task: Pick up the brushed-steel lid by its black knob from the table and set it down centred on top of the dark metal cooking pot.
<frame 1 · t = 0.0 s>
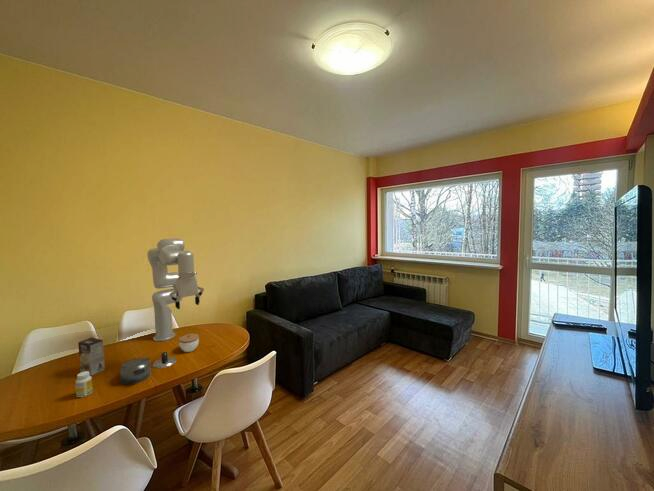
hand: (187, 306, 145), 31 cm above the table, fingers open, 9 cm apart
lidded jar: (189, 350, 162), on the table
lid: (164, 363, 147), on the table
coffee box: (92, 371, 139), on the table
supplement bottle: (84, 394, 120), on the table
pot: (136, 377, 133), on the table
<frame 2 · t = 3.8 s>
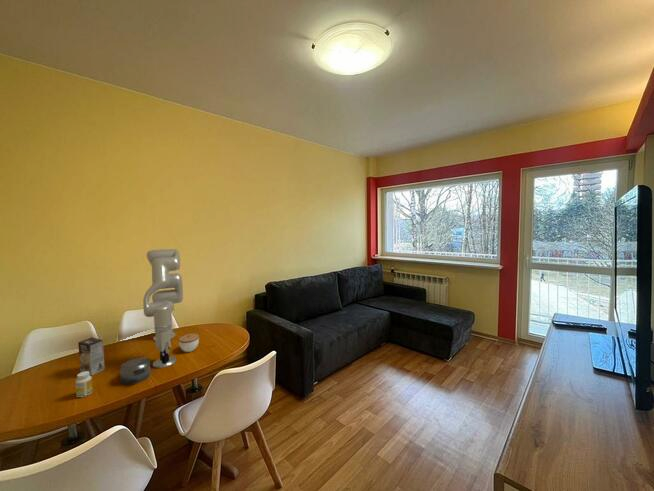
hand: (164, 360, 147), 1 cm above the table, fingers closed on lid, 2 cm apart
lid: (164, 362, 147), on the table, touching gripper
everything else where it was.
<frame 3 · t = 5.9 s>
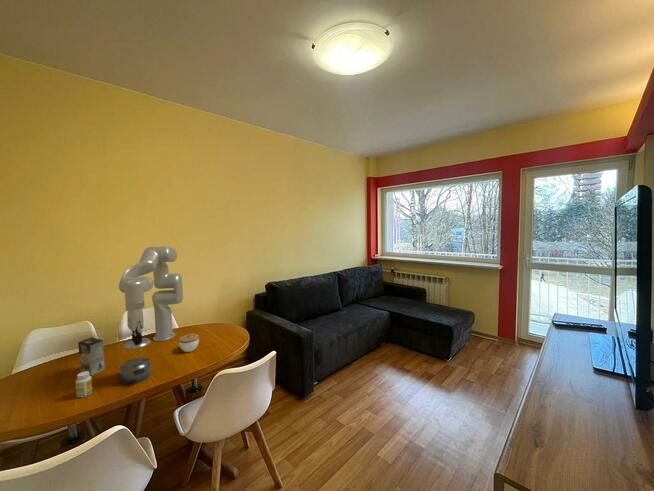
hand: (137, 341, 133), 18 cm above the table, fingers closed on lid, 2 cm apart
lid: (137, 344, 133), point 16 cm above the table, touching gripper
everything else where it was.
when the fingers open (9 cm above the table, at t = 8.1 s): lid drops 1 cm, resting on pot.
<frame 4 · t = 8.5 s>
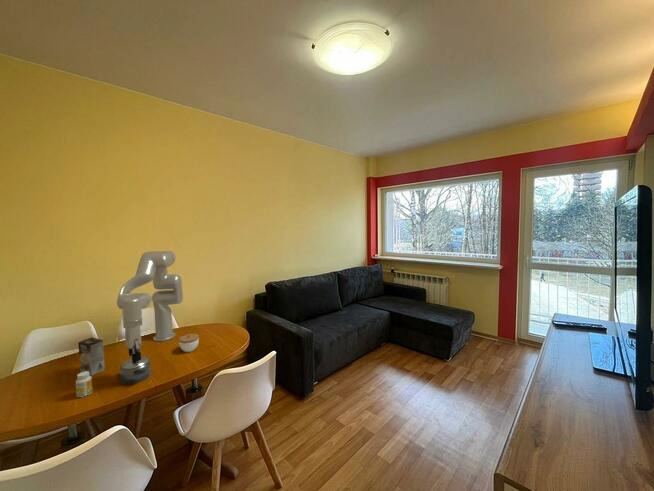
hand: (135, 357, 132), 10 cm above the table, fingers open, 7 cm apart
lid: (135, 363, 133), point 7 cm above the table, touching pot
everything else where it was.
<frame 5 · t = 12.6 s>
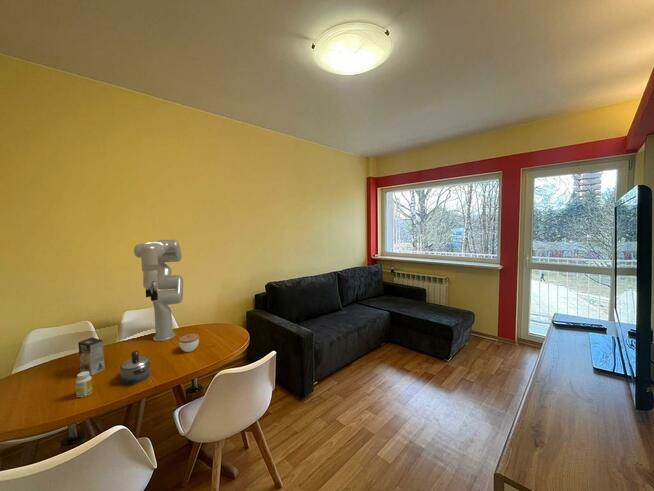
hand: (151, 298, 149), 34 cm above the table, fingers open, 9 cm apart
nothing on the table moved.
at the end: lid 0.2 cm from the pot (horizontally); lid point 7.0 cm above the table; lid tilted 0° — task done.
